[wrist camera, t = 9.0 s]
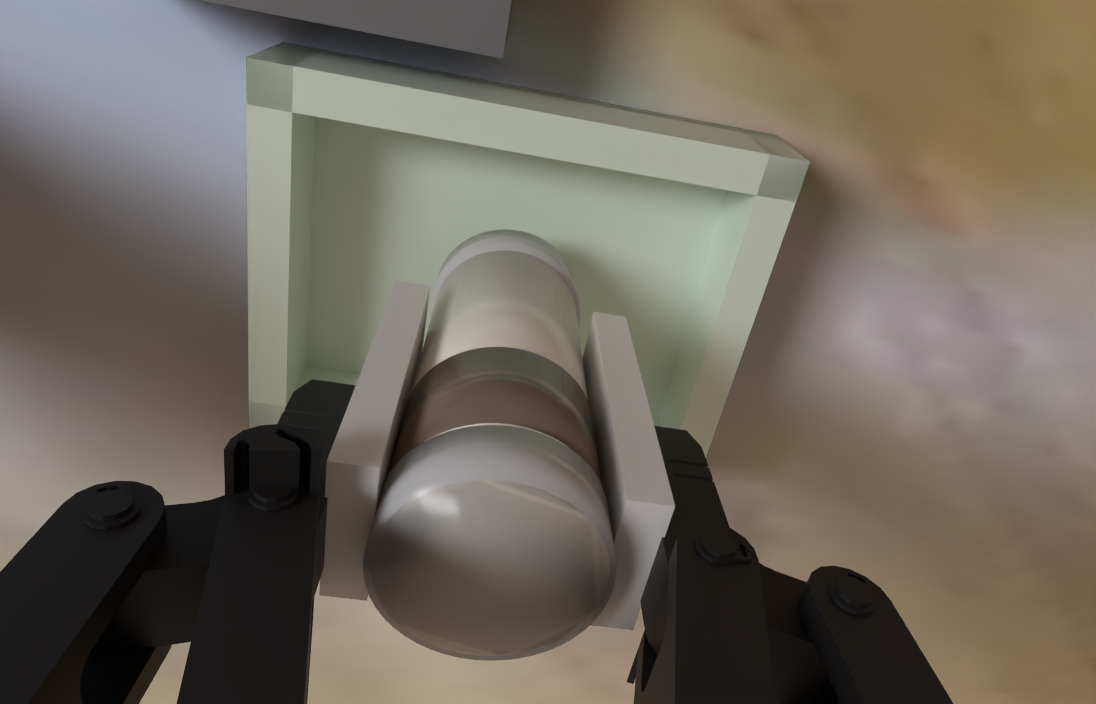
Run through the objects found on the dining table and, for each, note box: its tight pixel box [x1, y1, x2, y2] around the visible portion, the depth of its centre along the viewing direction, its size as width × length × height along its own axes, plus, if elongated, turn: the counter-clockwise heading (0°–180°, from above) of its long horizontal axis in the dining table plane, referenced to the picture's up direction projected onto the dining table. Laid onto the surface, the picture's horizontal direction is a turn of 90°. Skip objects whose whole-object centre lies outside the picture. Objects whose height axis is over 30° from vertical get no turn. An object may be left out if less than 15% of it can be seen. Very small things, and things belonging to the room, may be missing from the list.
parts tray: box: [246, 42, 810, 458], centre depth 21 cm, size 10×13×3 cm
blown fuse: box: [363, 229, 616, 660], centre depth 16 cm, size 4×4×10 cm
